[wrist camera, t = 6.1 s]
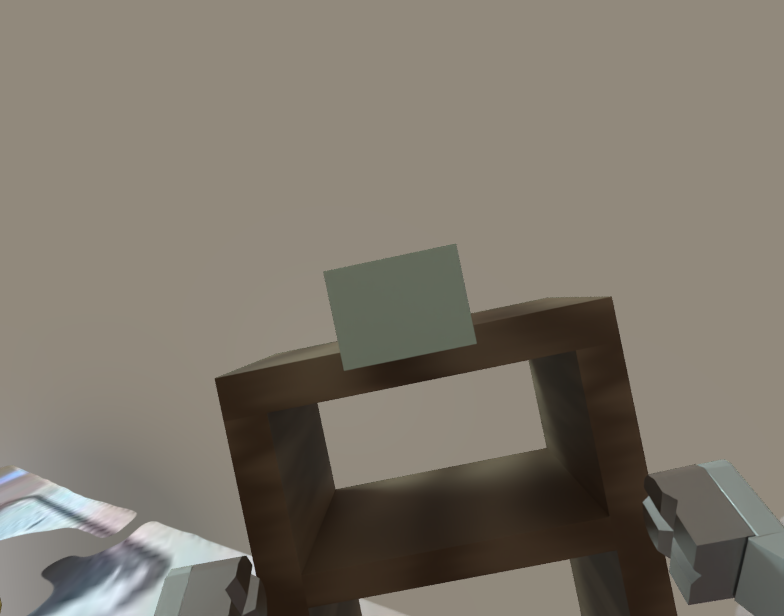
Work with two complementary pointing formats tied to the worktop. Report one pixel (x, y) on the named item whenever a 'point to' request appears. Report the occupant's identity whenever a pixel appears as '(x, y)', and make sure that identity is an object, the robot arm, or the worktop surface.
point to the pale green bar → (400, 307)
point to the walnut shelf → (452, 474)
